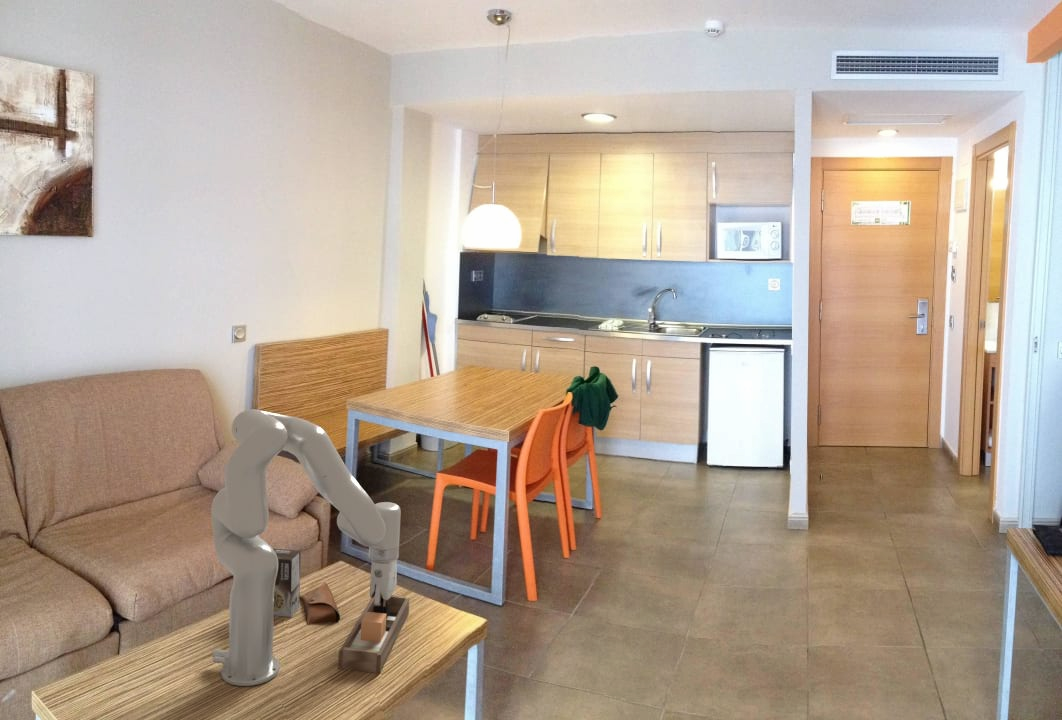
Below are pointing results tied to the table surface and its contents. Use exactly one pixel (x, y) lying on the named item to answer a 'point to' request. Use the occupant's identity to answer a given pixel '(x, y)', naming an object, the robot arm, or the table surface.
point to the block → (373, 626)
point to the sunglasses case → (320, 606)
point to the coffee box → (287, 583)
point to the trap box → (374, 653)
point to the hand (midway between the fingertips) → (380, 618)
